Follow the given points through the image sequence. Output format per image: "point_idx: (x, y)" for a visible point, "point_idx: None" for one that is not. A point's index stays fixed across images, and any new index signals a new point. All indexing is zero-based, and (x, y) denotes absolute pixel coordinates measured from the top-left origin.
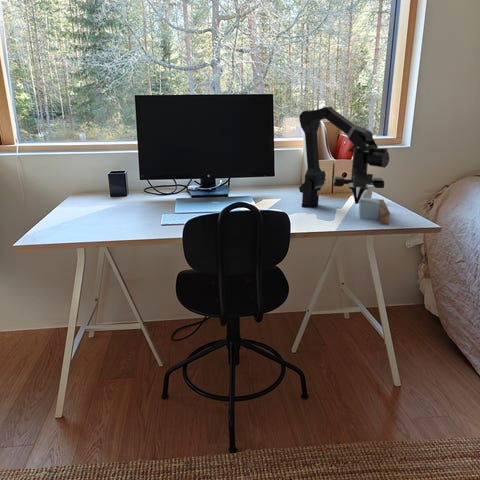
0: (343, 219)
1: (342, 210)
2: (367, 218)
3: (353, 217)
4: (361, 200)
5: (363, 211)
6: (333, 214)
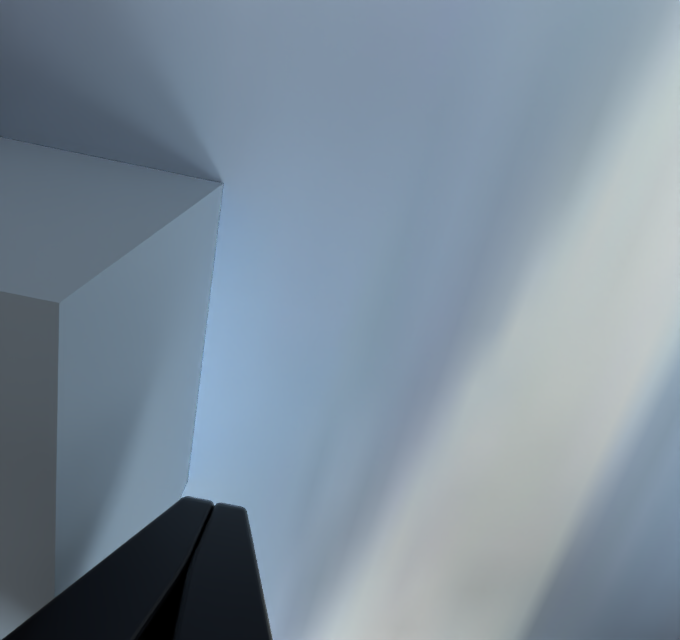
0: (587, 127)
1: (412, 631)
2: (64, 151)
3: (332, 257)
4: (19, 575)
5: (94, 202)
6: (650, 456)
